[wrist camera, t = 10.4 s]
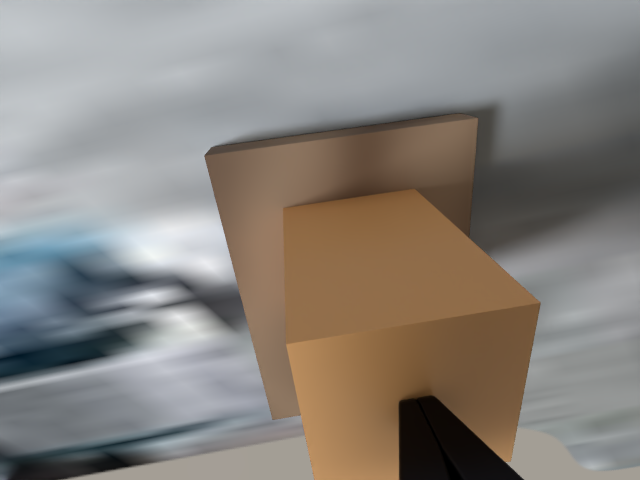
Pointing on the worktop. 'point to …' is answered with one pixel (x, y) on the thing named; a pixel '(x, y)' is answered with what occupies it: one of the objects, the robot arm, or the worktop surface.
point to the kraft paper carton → (397, 329)
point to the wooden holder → (322, 186)
